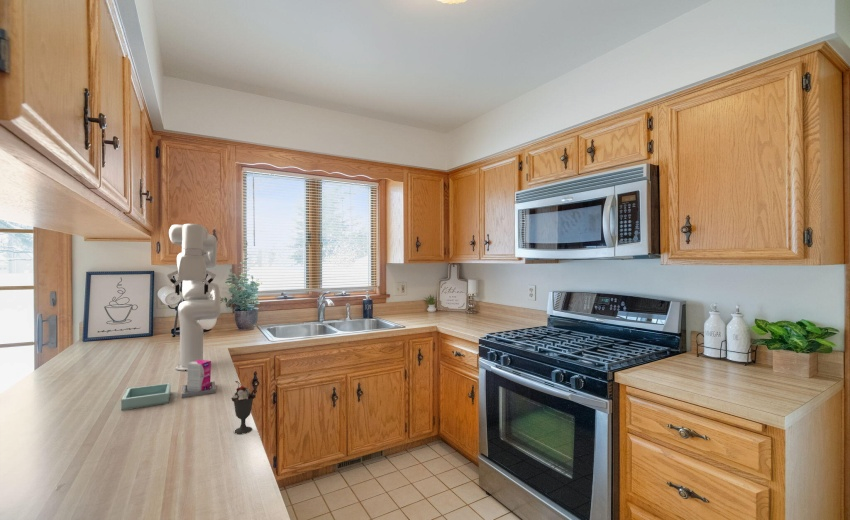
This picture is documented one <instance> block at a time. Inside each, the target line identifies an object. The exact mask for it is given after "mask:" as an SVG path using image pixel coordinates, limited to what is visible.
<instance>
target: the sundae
mask: <svg viewBox="0 0 850 520" xmlns="http://www.w3.org/2000/svg"><path fill="white" fill-rule="evenodd" d="M235 383H236V384H238V387H236V391H235V392H234V394H233V395H232V397H231V398H230V399H231V401H232V402H233V405H234V413H235V416H236V417H237V418H238V419H239V420H240V427H237V428H236V430H235V429H234V430H235V433H237V434H236V435H243V434H242V433H245V434H248V433H250V432H251V431H252V430H253V428H252V426H247V425H246V419H248V418H249V416H250V415H251V412H252V407H253V402H254V400H255V399H256V394H255V393H254V392H255V389H252V391H251V390H250V388H248V387H244V386H243V385H241V383H240V382H239V381H238V380H235ZM247 432H248V433H247ZM235 433H234V434H235Z"/></svg>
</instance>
